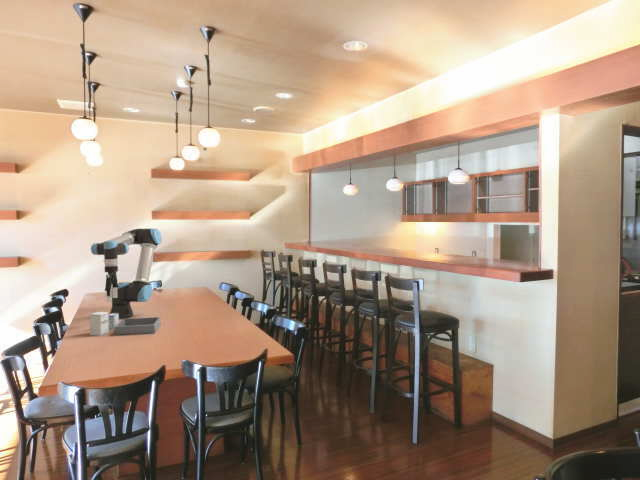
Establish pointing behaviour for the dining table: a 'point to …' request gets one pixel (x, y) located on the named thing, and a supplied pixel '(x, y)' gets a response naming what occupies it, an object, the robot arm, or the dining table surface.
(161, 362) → the dining table surface
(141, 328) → the tote
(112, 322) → the medicine box
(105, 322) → the supplement box
